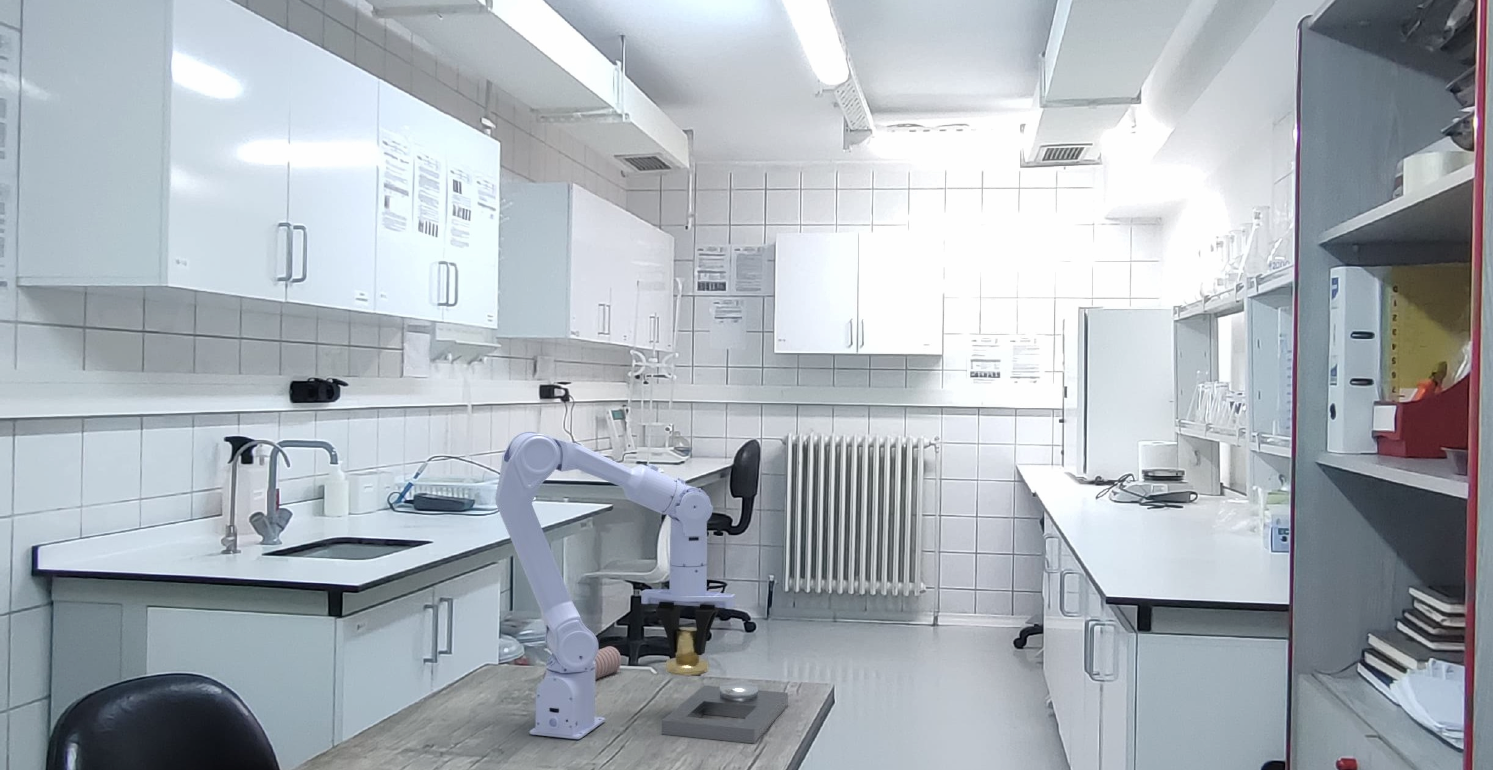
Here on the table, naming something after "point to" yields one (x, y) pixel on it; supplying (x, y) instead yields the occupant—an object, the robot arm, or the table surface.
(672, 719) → the carrier plate
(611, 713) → the table surface
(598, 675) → the coil
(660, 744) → the table surface
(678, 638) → the gold flanged round piece
